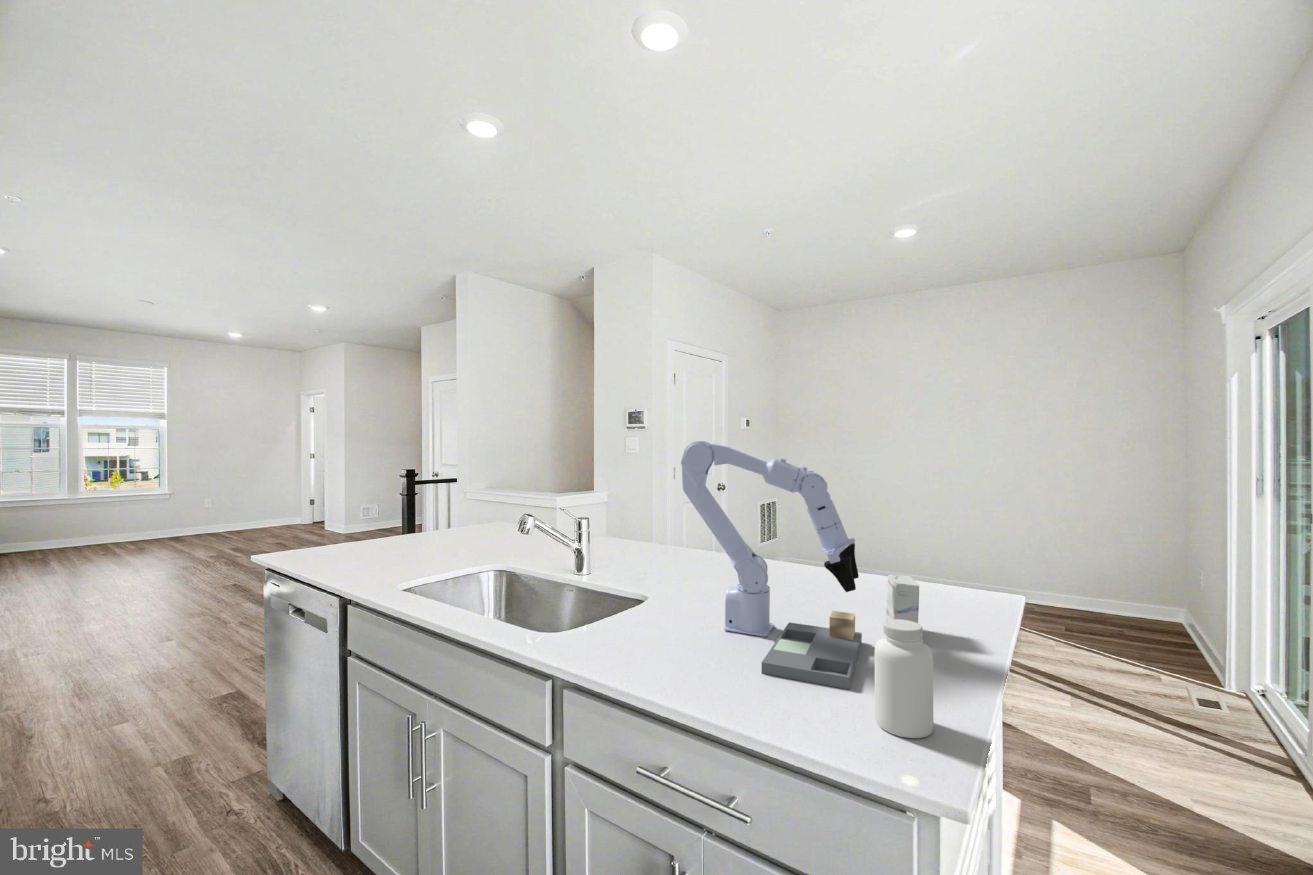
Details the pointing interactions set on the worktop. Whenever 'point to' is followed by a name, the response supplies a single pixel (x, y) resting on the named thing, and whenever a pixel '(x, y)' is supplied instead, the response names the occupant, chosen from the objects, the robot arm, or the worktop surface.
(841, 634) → the block
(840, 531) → the robot arm
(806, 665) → the board
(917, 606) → the ink box
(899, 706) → the pill bottle
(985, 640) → the worktop surface
